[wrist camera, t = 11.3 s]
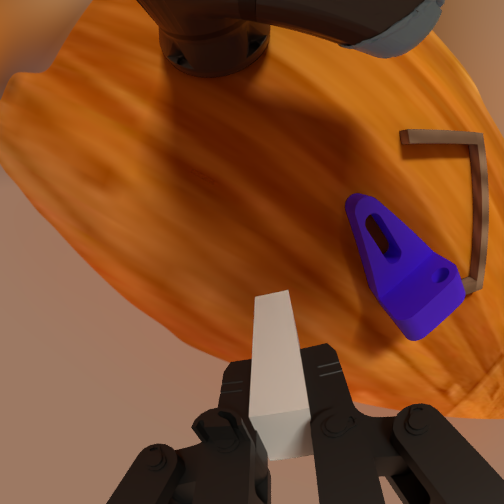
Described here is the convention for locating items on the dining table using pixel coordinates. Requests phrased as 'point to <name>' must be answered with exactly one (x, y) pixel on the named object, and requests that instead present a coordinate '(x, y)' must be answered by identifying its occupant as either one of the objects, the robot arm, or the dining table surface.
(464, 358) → the dining table surface
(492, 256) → the dining table surface
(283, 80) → the dining table surface
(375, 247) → the bracket
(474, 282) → the handle
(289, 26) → the robot arm
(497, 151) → the dining table surface
